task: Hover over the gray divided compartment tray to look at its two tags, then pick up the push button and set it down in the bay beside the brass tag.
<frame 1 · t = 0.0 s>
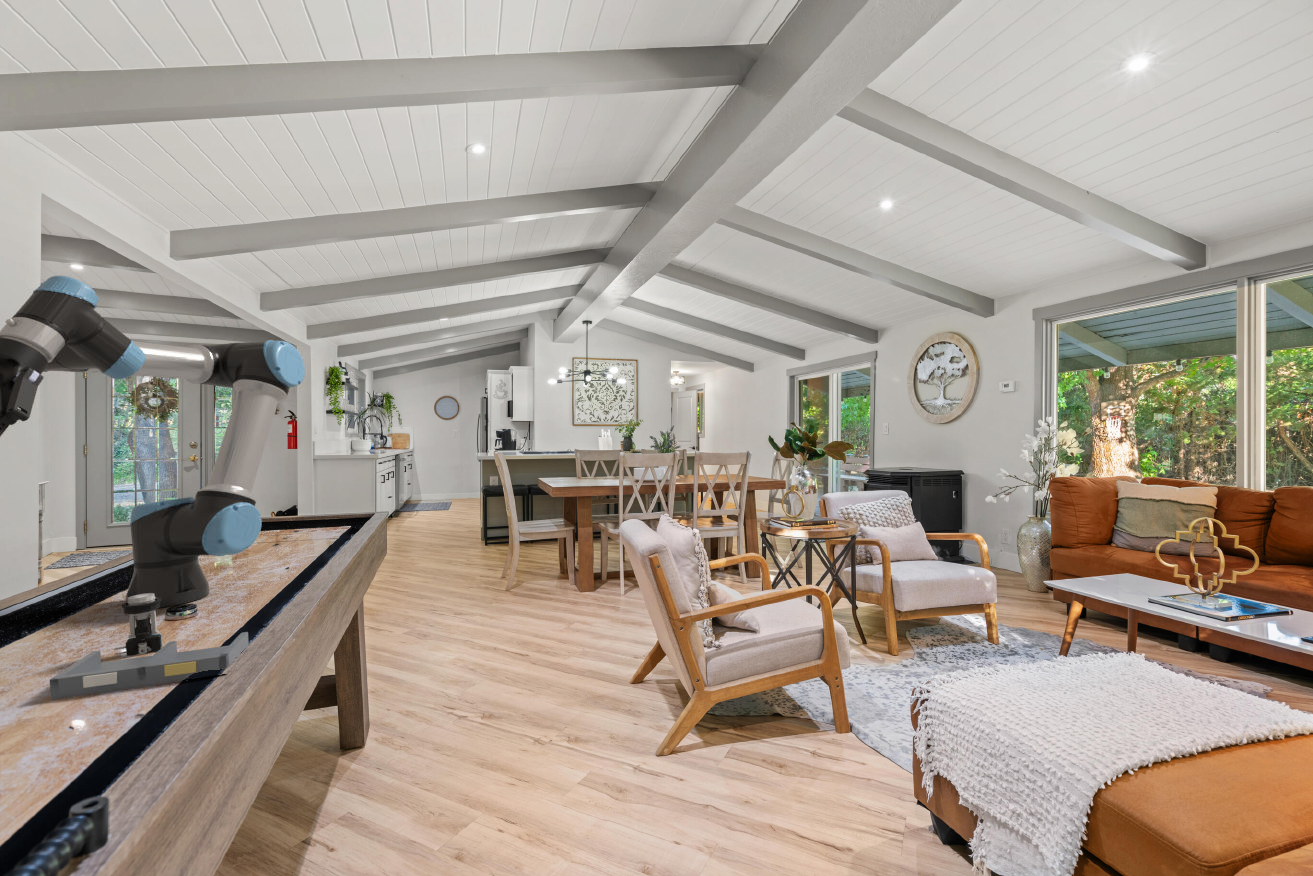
push button: (140, 654, 109), on the table
gray divided compartment tray: (159, 671, 100), on the table
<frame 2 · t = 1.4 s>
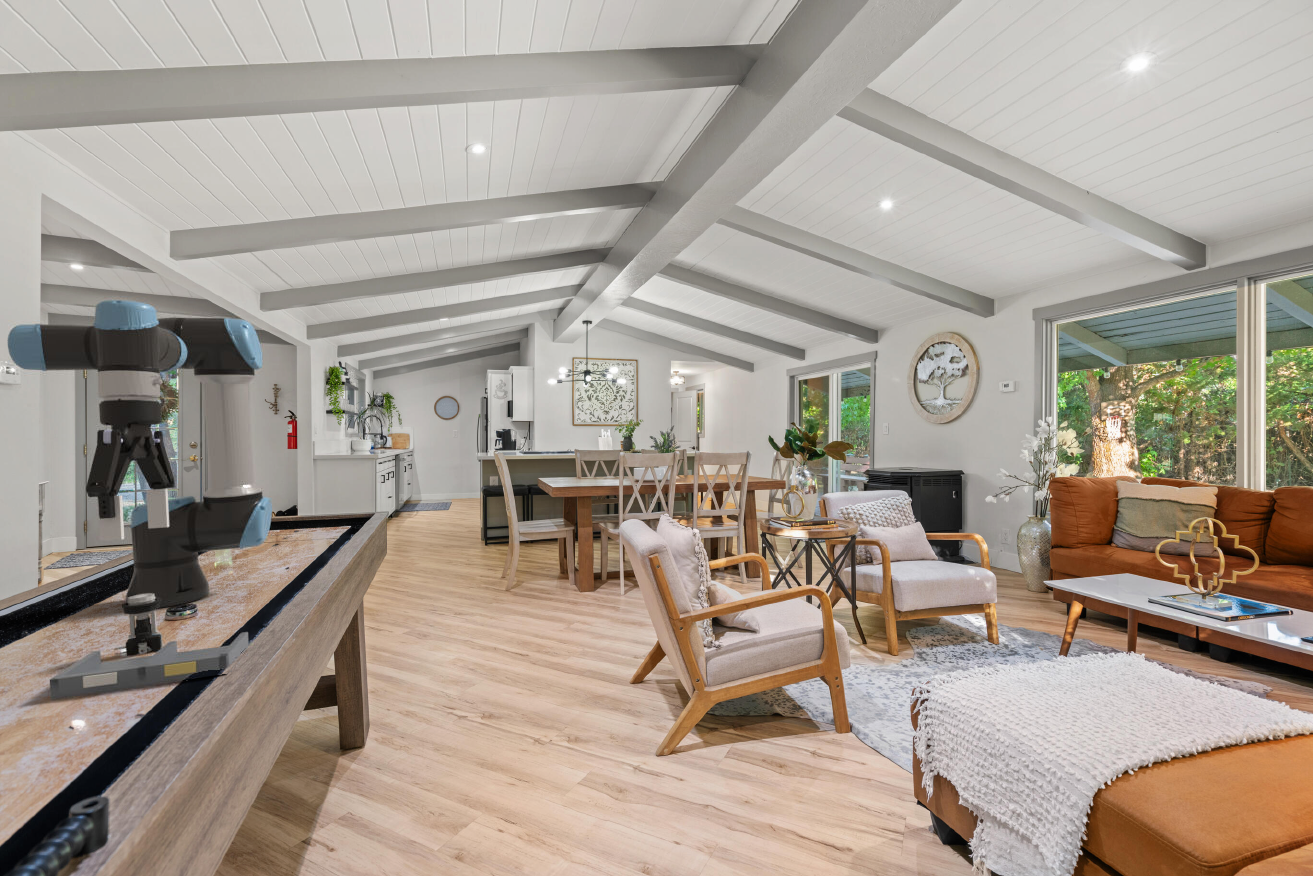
hand: (137, 533, 98), 23 cm above the table, tool pointing down, fingers open, 13 cm apart
nothing on the table moved.
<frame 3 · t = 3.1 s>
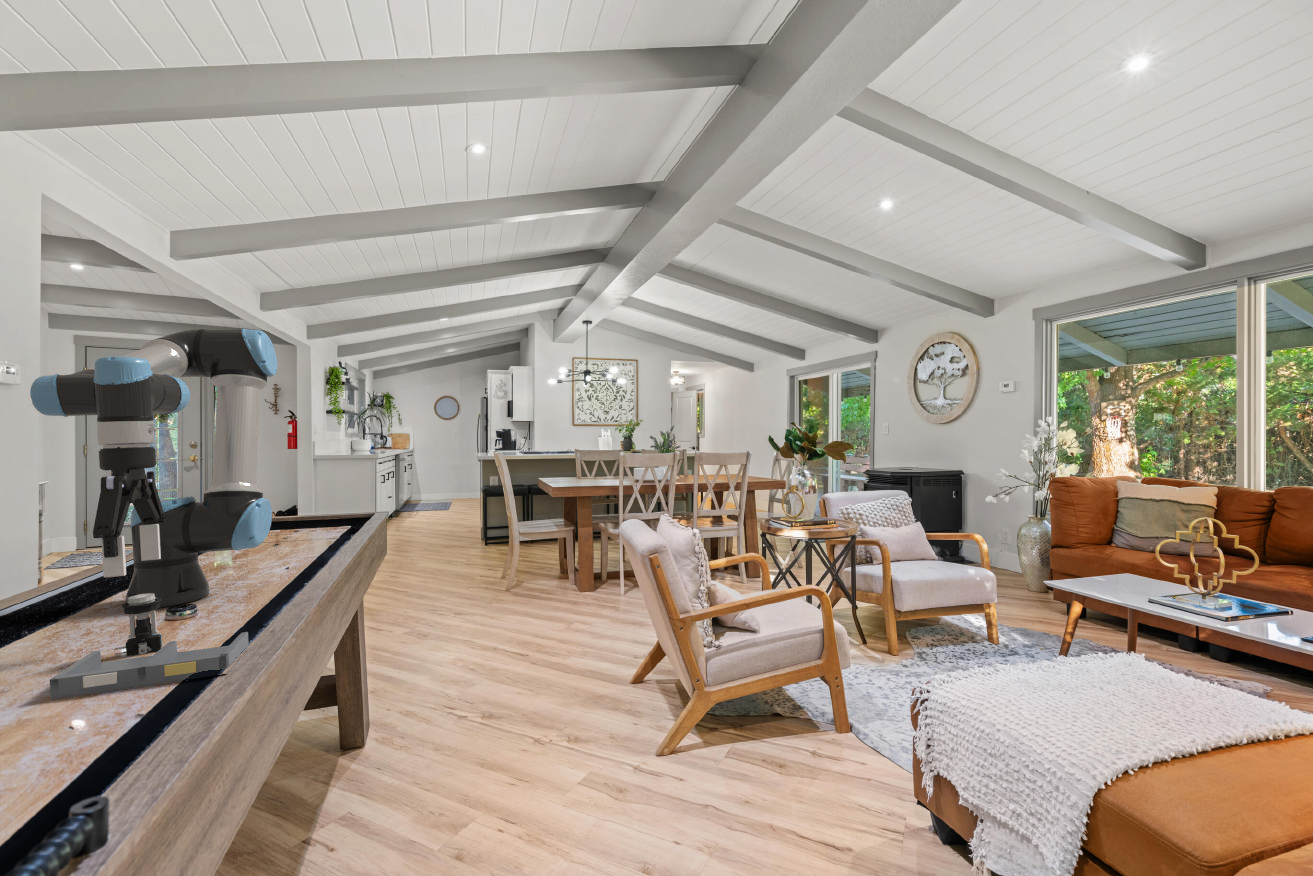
hand: (134, 567, 108), 15 cm above the table, tool pointing down, fingers open, 13 cm apart
nothing on the table moved.
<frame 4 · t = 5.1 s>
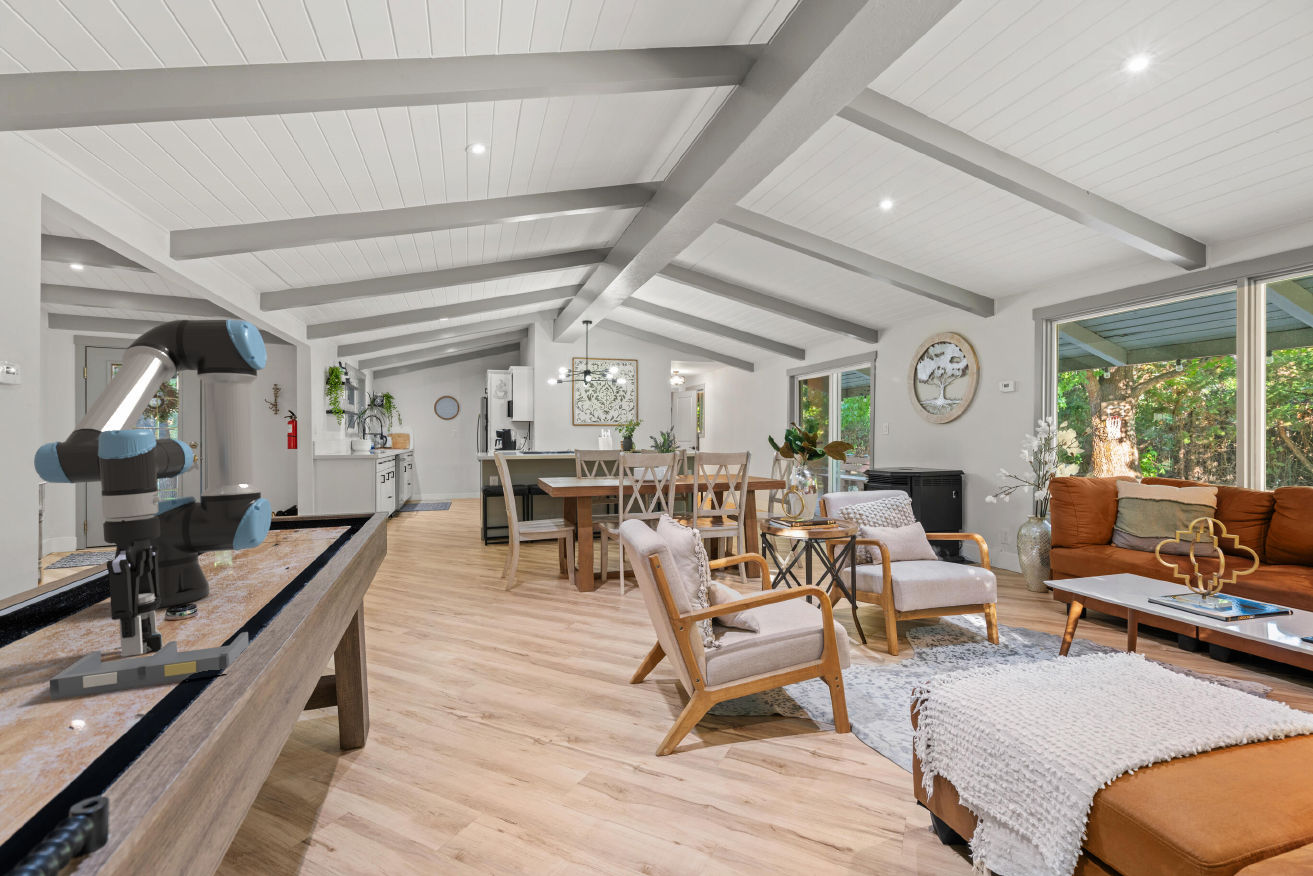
hand: (139, 648, 109), 1 cm above the table, tool pointing down, fingers closed on push button, 5 cm apart
push button: (140, 653, 109), on the table, touching gripper
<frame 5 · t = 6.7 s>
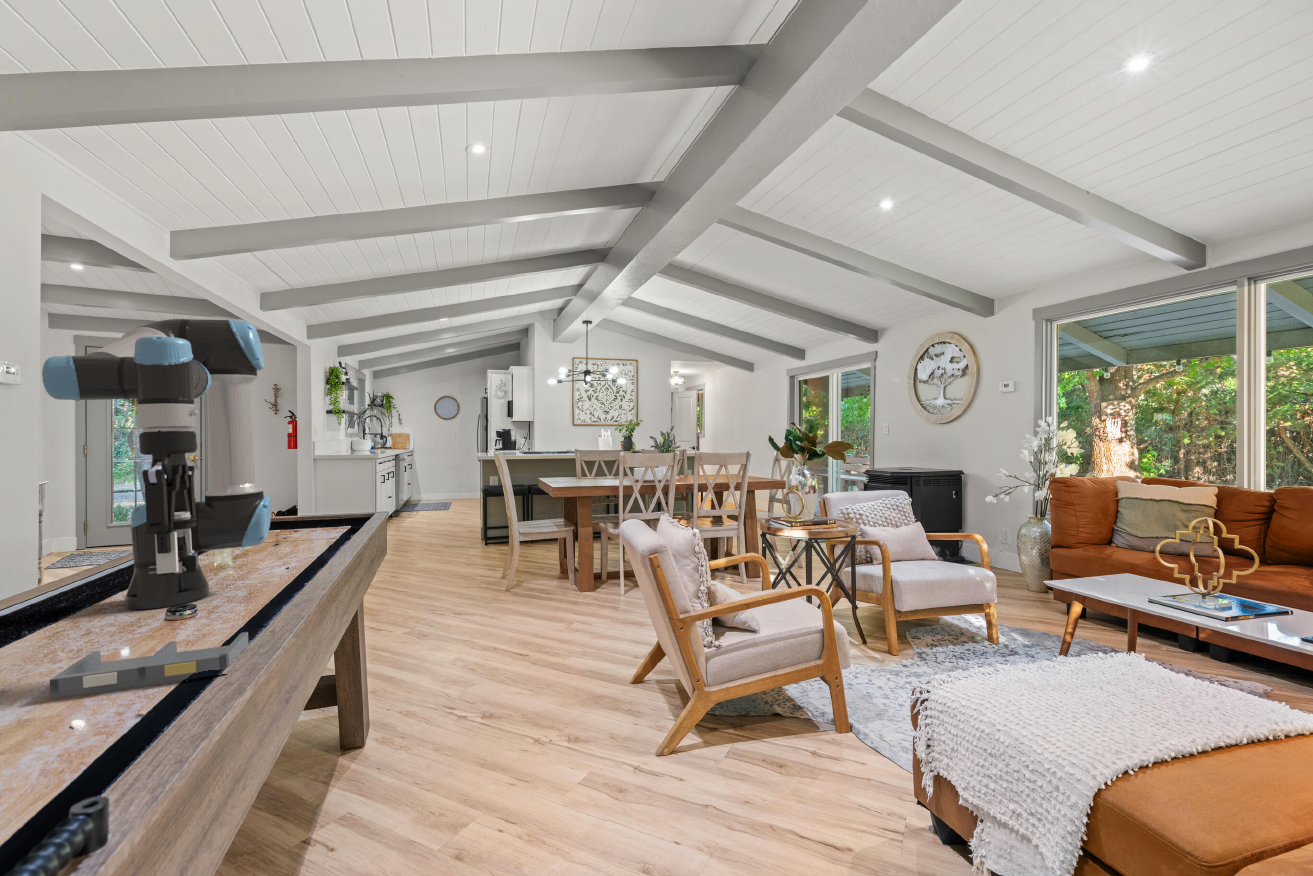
hand: (175, 568, 103), 16 cm above the table, tool pointing down, fingers closed on push button, 5 cm apart
push button: (175, 574, 103), point 15 cm above the table, touching gripper
when the fingers open (3 cm above the table, at t = 8.7 s): push button stays where it is, resting on gray divided compartment tray.
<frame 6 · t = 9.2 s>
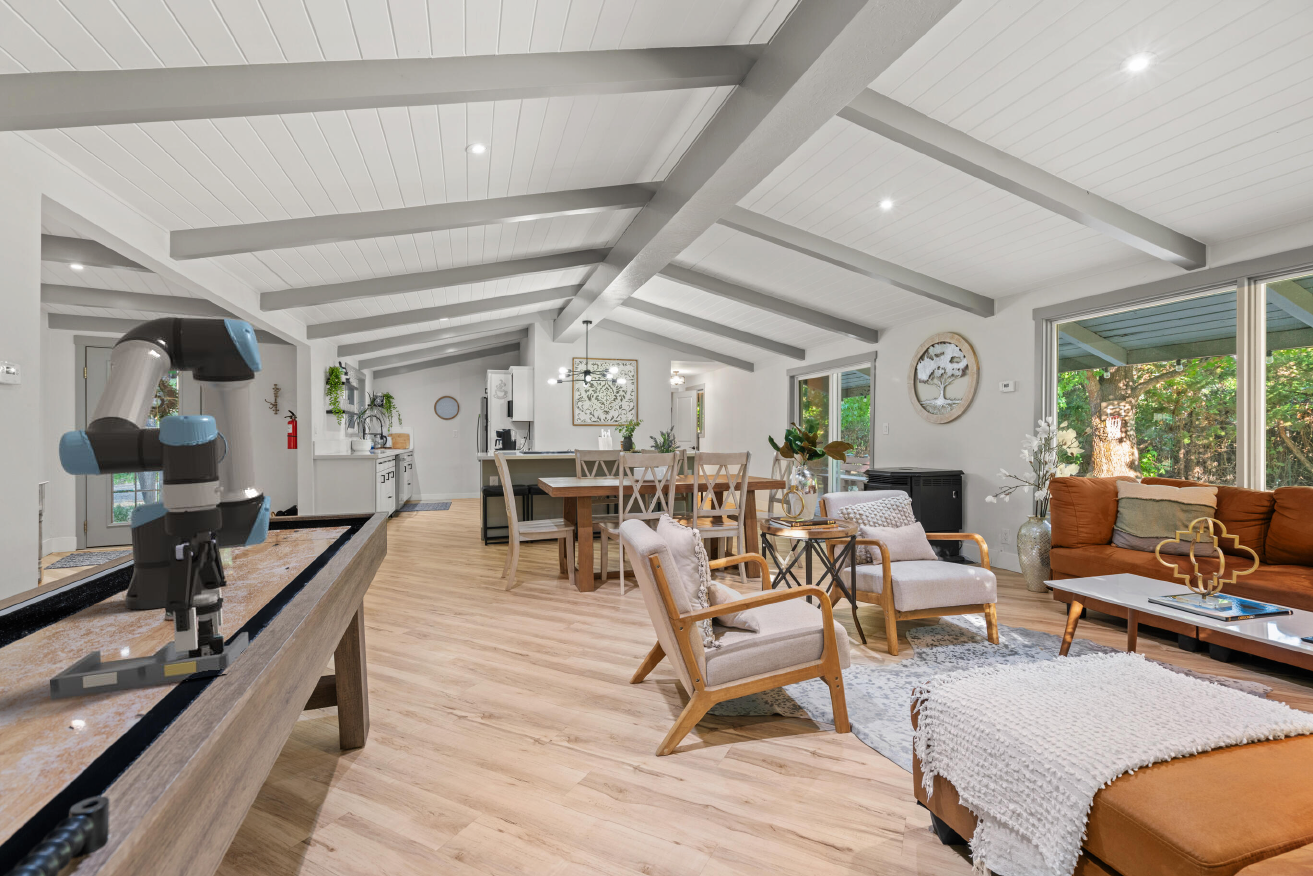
hand: (200, 637, 103), 4 cm above the table, tool pointing down, fingers open, 11 cm apart
push button: (202, 657, 103), point 1 cm above the table, touching gray divided compartment tray
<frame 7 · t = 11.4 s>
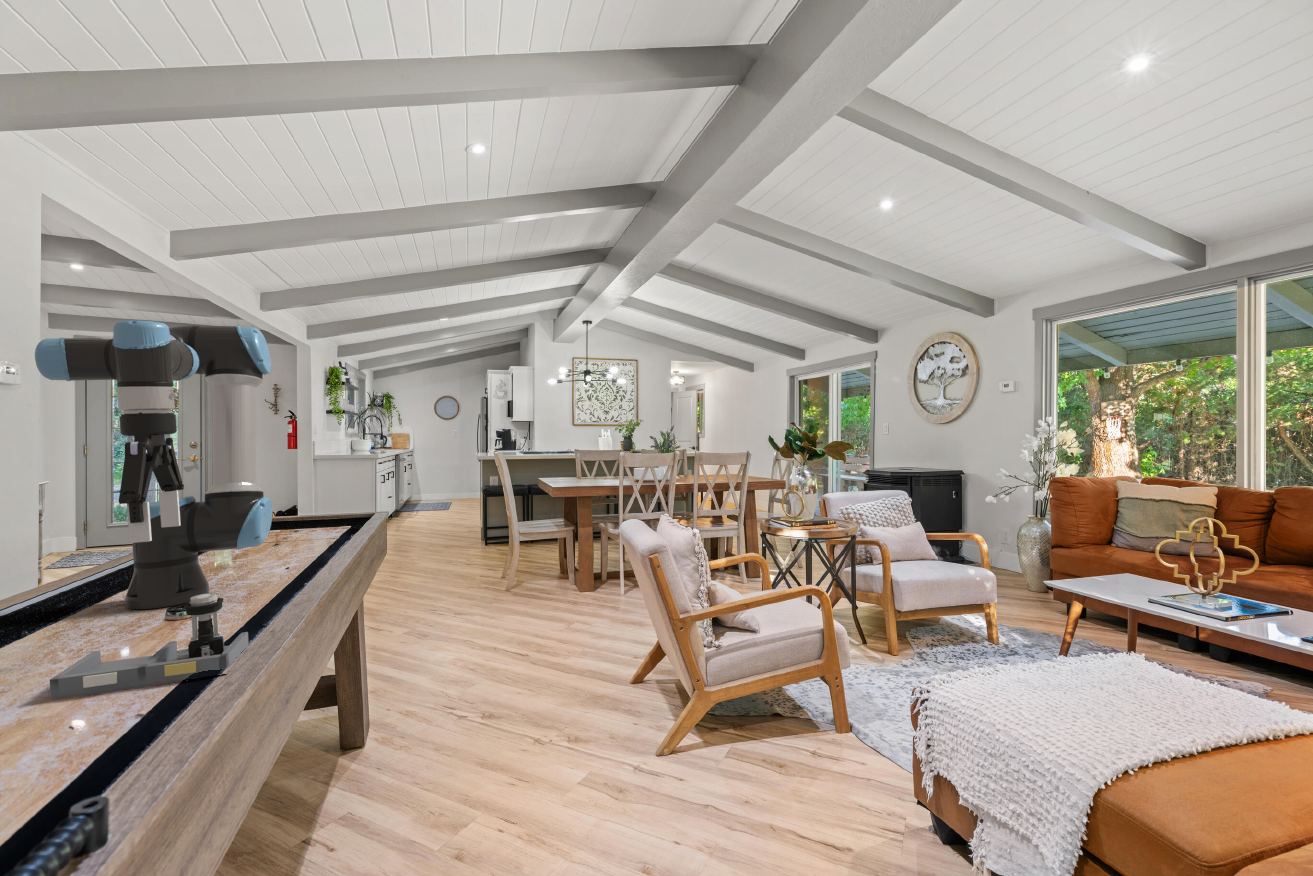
hand: (156, 533, 108), 21 cm above the table, tool pointing down, fingers open, 13 cm apart
nothing on the table moved.
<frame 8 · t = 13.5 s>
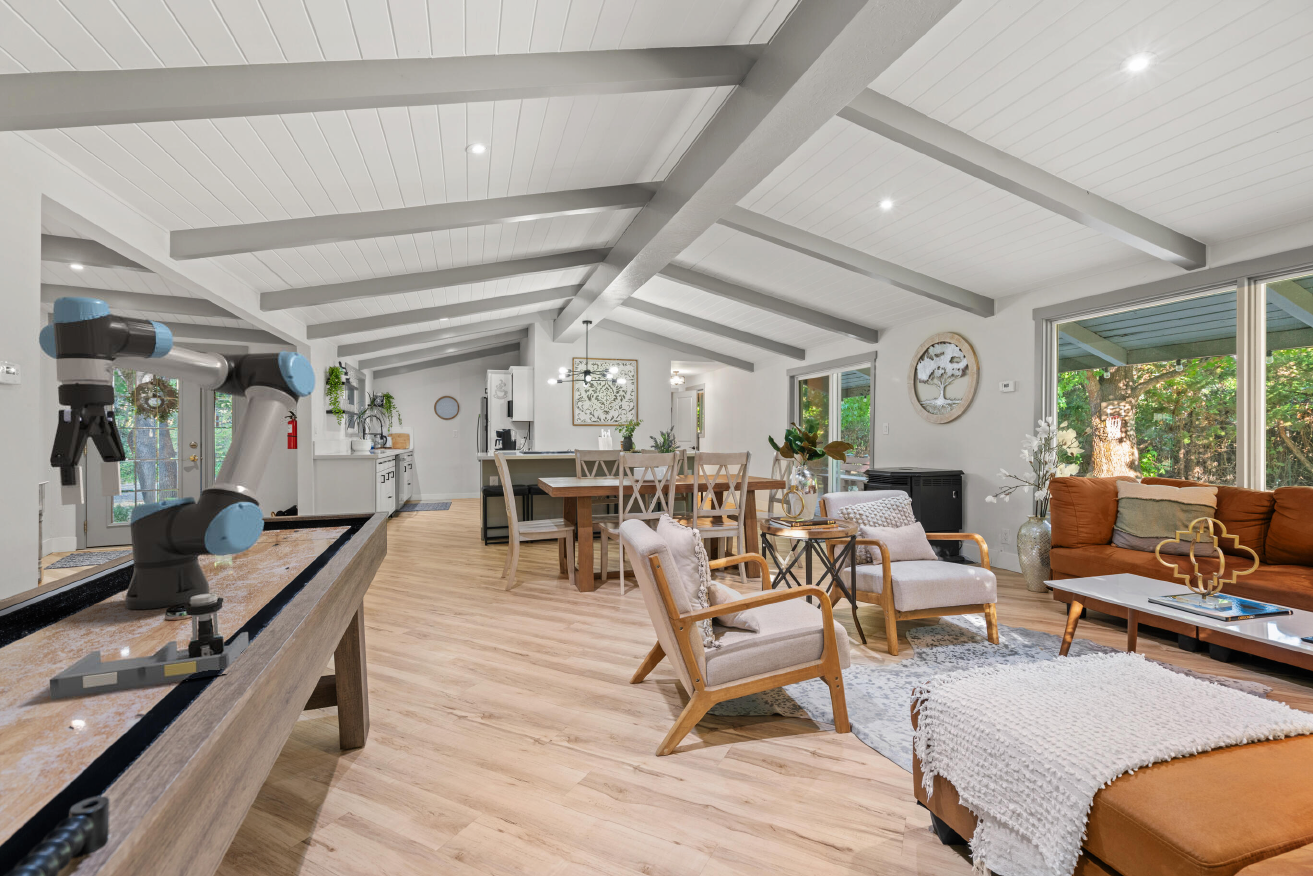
hand: (93, 499, 113), 27 cm above the table, tool pointing down, fingers open, 13 cm apart
nothing on the table moved.
at the end: push button inside the target area (1.4 cm from its centre), point 0.8 cm above the table; push button tilted 0°; the gripper is holding nothing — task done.
